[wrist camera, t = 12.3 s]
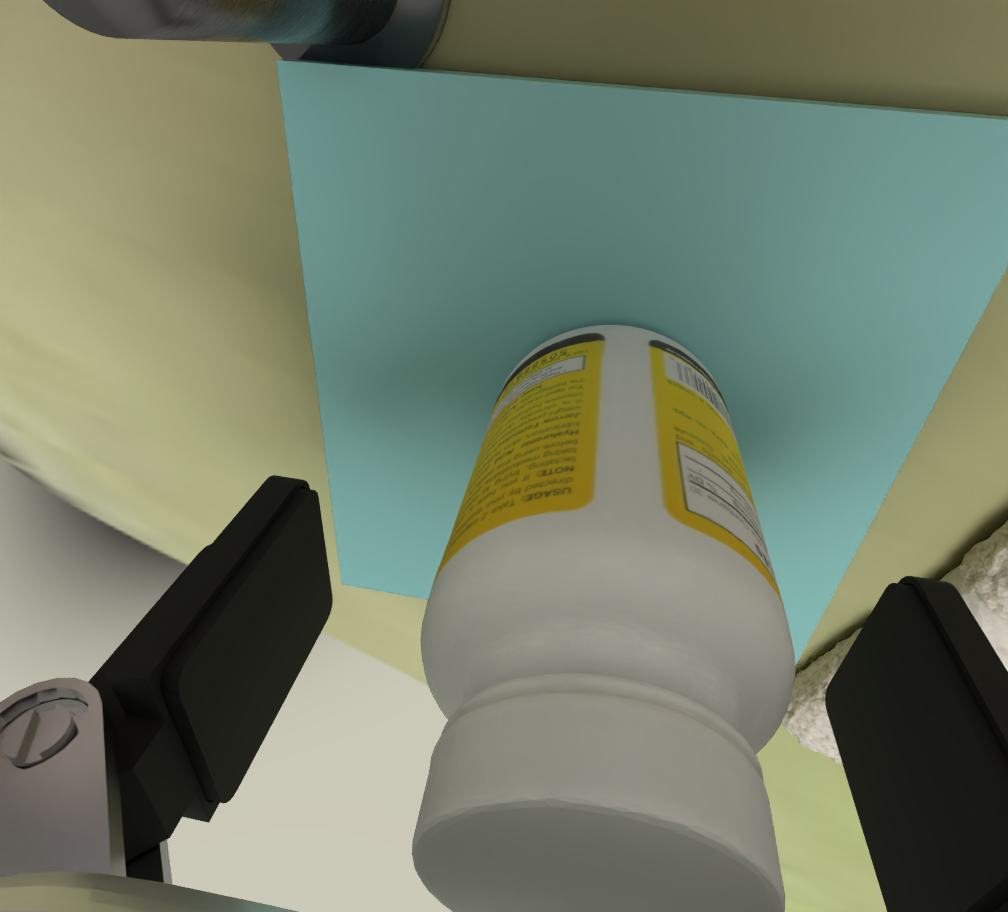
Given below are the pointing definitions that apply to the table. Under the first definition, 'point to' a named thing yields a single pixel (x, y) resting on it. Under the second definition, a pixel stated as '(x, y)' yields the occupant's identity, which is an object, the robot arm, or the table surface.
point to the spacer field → (277, 25)
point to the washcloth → (979, 579)
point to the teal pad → (631, 283)
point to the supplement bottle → (605, 648)
